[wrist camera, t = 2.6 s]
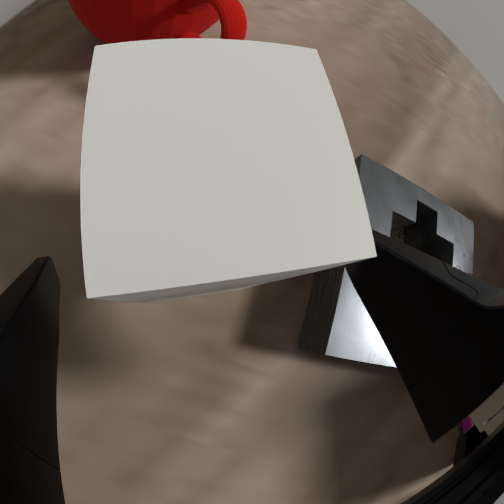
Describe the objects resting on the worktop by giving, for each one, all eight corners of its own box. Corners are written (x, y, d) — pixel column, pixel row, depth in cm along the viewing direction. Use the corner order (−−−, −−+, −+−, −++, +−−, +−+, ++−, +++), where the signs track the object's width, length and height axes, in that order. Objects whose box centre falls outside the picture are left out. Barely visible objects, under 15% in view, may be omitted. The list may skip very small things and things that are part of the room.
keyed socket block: (425, 370, 21) (457, 375, 18) (297, 347, 18) (325, 354, 15) (444, 231, 24) (473, 222, 20) (334, 174, 21) (361, 154, 18)
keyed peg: (231, 291, 18) (376, 256, 6) (143, 303, 16) (86, 298, 4) (214, 183, 19) (300, 13, 6) (132, 191, 17) (103, 7, 5)
